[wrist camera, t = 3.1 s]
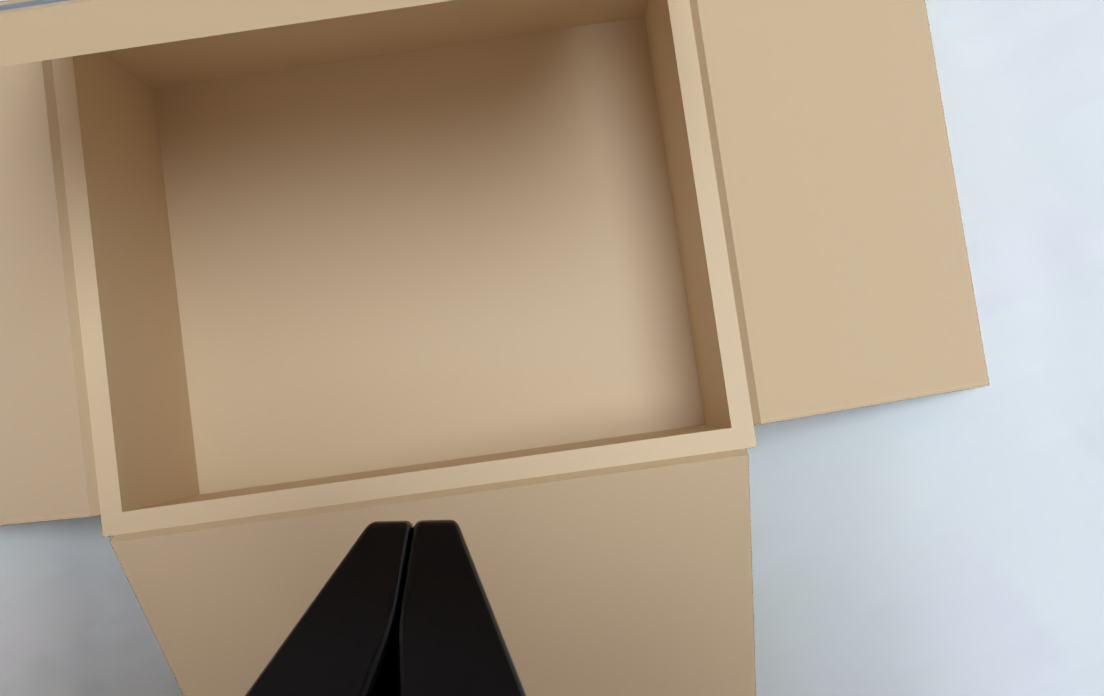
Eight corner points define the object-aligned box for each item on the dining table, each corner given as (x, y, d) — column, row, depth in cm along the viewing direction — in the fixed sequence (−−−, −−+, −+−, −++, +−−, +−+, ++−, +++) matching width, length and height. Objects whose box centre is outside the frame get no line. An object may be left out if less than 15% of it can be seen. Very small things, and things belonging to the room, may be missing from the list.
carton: (1031, 670, 21) (1145, 737, 17) (-38, 812, 22) (-190, 911, 18) (913, -33, 22) (993, -138, 18) (-105, 116, 23) (-264, 48, 19)
